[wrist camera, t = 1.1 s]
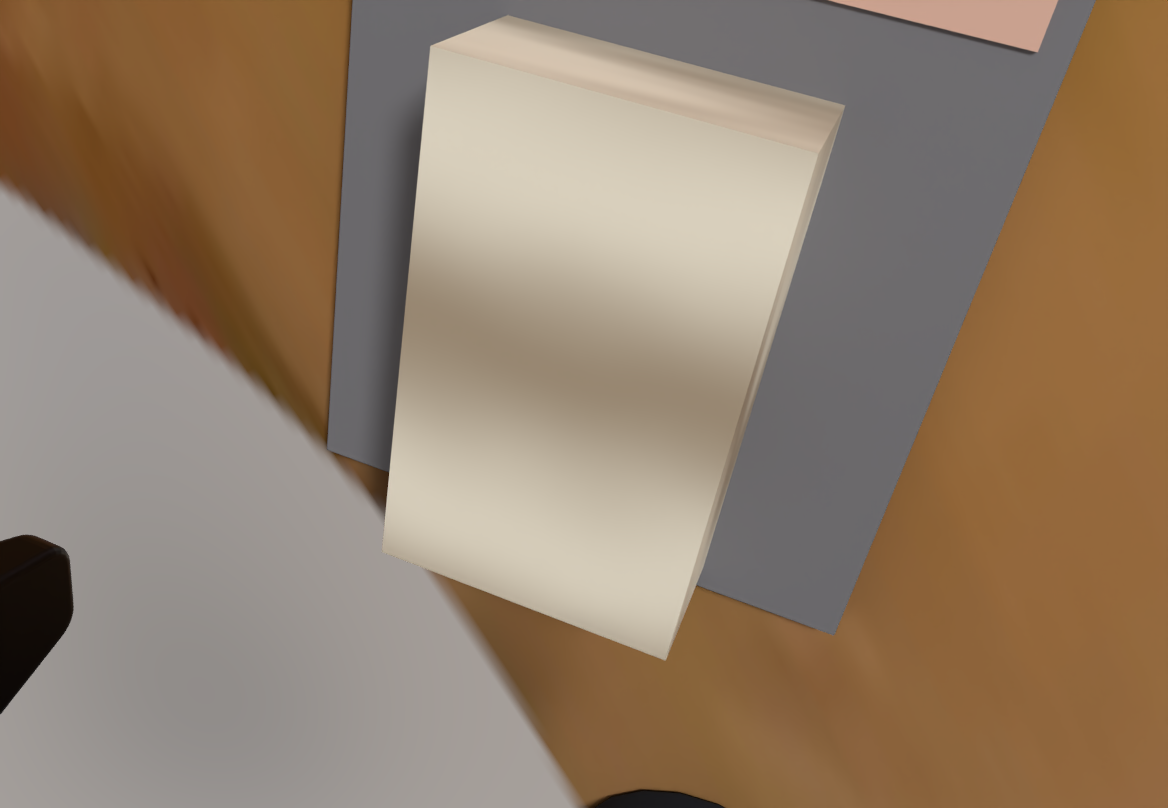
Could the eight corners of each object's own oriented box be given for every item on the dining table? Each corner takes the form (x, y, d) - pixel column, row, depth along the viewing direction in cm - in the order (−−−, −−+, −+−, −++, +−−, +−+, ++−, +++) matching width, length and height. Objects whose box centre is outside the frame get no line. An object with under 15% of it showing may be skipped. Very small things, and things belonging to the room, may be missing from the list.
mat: (837, 617, 23) (833, 638, 22) (340, 437, 25) (325, 451, 25) (1406, -771, 12) (1427, -801, 11) (424, -865, 14) (399, -894, 13)
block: (702, 568, 23) (665, 660, 20) (446, 475, 24) (382, 551, 21) (845, 105, 17) (818, 153, 15) (507, 14, 19) (430, 45, 16)
